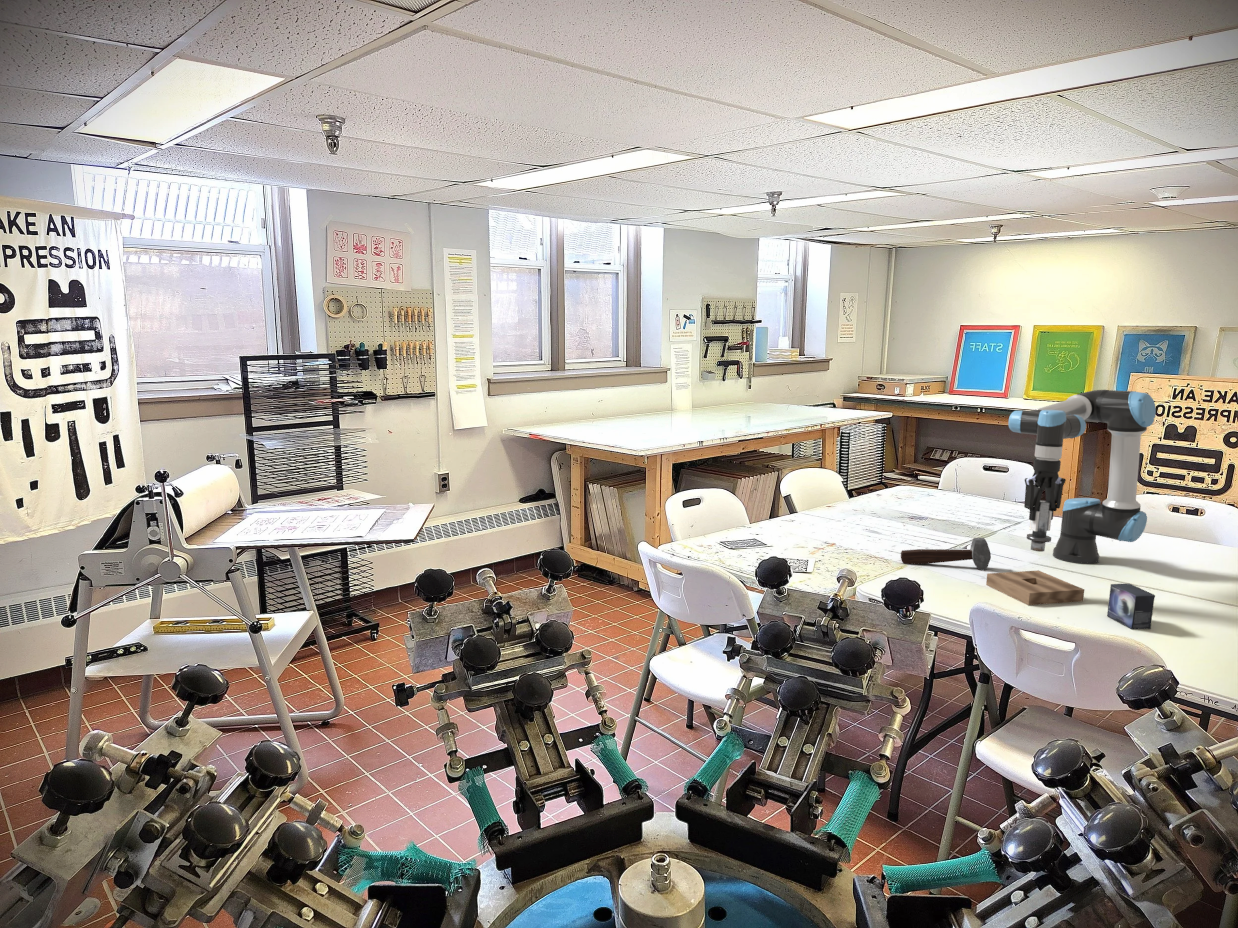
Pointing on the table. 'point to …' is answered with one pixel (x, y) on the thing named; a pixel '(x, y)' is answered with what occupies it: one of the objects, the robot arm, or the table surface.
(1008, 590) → the socket plate
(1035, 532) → the steel peg
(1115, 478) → the robot arm
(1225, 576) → the table surface
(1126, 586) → the small box
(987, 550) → the hammer
